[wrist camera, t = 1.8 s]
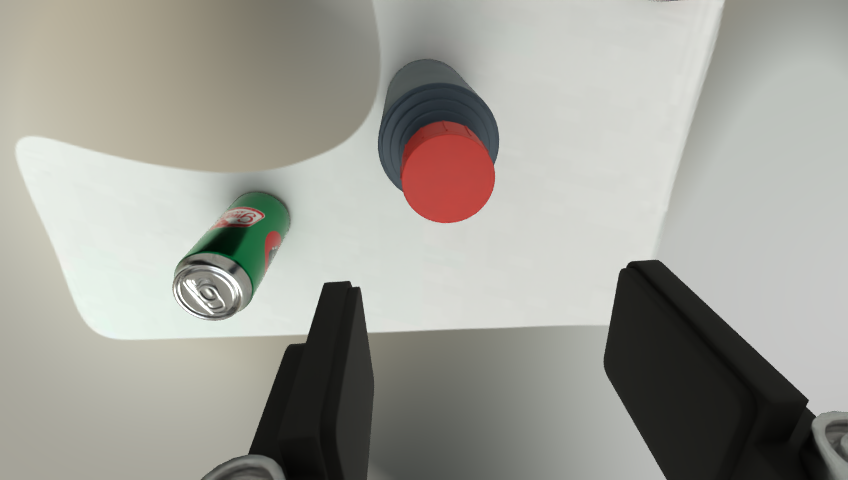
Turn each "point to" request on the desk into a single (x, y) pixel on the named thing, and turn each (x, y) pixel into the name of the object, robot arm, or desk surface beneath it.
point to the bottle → (429, 111)
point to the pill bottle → (661, 0)
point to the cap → (446, 172)
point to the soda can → (231, 258)
